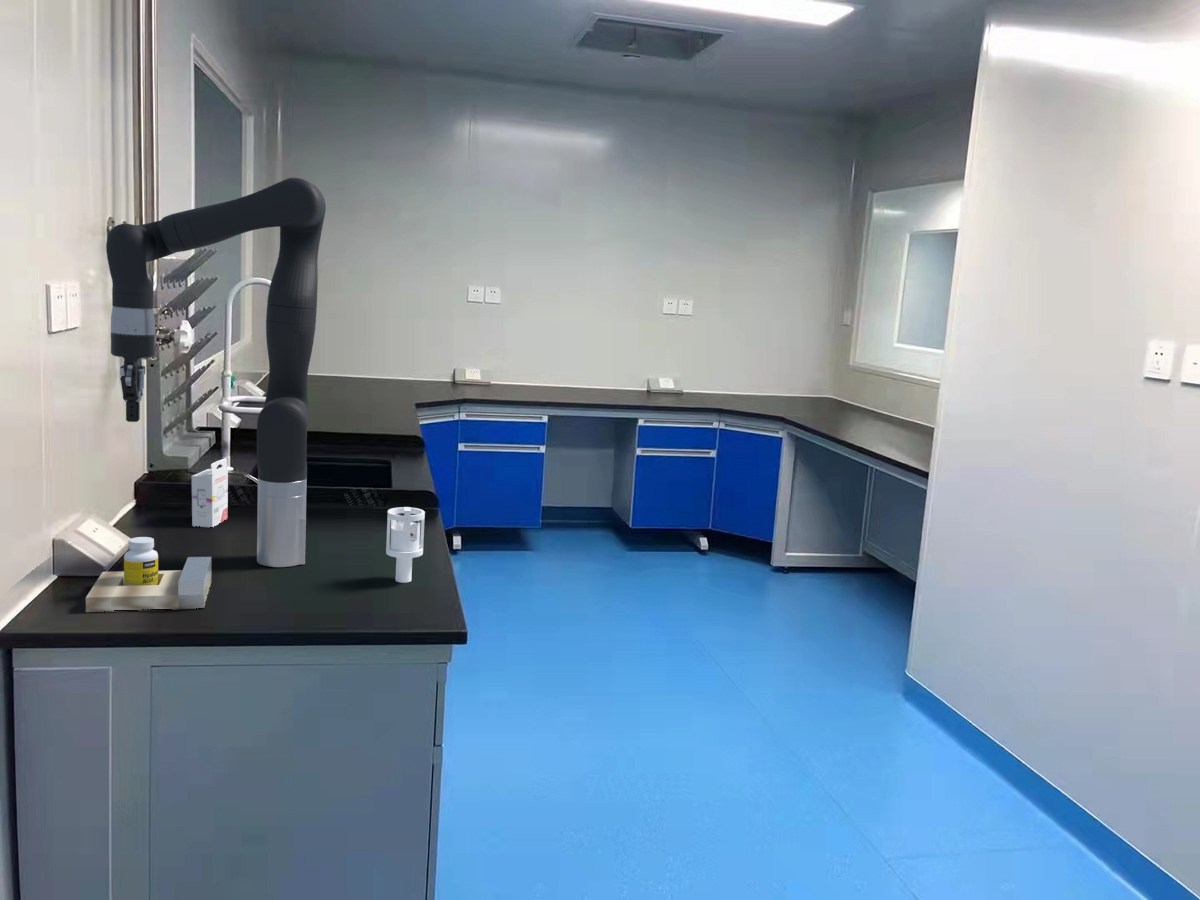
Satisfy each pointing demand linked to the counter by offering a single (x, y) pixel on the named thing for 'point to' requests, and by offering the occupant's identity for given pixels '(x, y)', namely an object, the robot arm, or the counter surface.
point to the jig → (154, 589)
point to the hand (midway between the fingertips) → (132, 421)
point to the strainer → (405, 539)
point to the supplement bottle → (141, 563)
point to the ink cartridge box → (210, 495)
